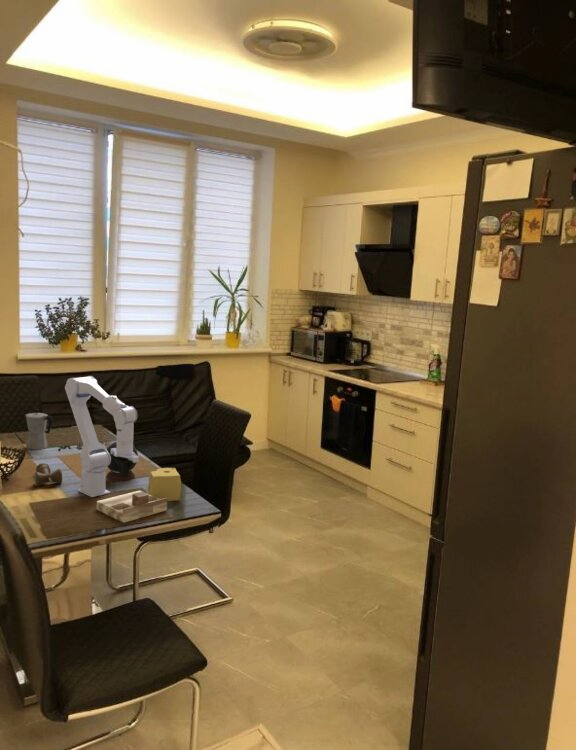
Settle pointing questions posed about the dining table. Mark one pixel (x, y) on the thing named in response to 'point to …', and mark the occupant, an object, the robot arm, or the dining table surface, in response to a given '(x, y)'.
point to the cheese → (165, 484)
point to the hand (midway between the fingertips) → (124, 477)
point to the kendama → (47, 475)
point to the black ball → (114, 472)
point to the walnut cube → (139, 498)
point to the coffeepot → (37, 430)
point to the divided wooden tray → (130, 507)
